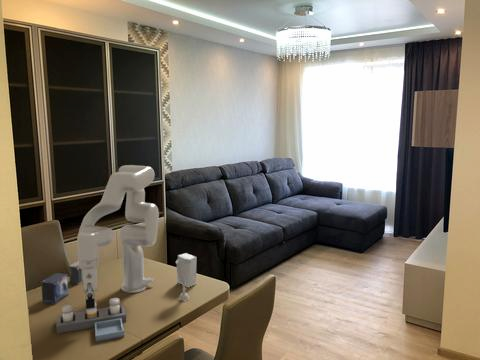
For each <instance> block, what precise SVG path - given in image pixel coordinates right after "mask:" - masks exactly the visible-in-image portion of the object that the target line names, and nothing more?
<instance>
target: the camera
mask: <svg viewBox="0 0 480 360" xmlns="http://www.w3.org/2000/svg"><path fill="white" fill-rule="evenodd" d="M68 274H69V277H68V279H69V284H70V285H72V286H78V285H80V284H81V283H82V284H83V278H82V269H80V268H79V265H78V261H75V262H74V263H72V264H70V265H69V267H68Z"/></svg>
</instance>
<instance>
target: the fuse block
mask: <svg viewBox="0 0 480 360" xmlns="http://www.w3.org/2000/svg"><path fill="white" fill-rule="evenodd" d="M119 307H120V314H114V315H110V306H107V307H103V308H97V317H96V318H90V319H87V310H83V311H77V312H73V321H72V322H66V323H63V315H62V314H58V315H57V320H56V325H55V326H56V334H61V333H68V332H73V331H80V330H83V329H90V328H95V323H96V322H102V321H108V320H114V319H119V318H122V323H125V322H127V312H126V308H125V305H124V304H121V305H120V304H119Z"/></svg>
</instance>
